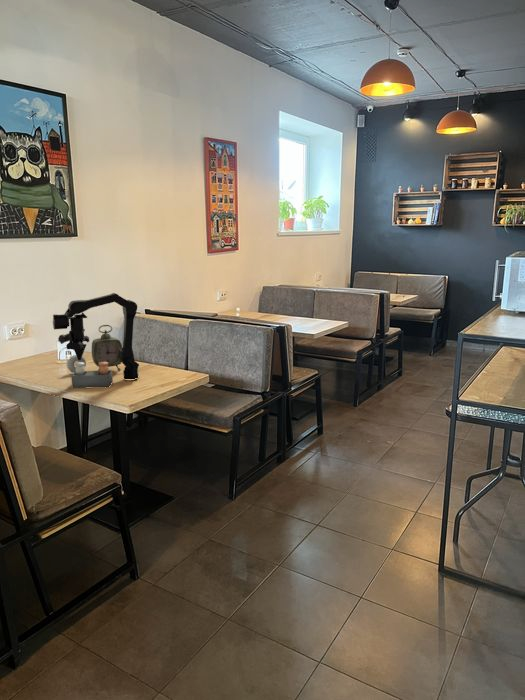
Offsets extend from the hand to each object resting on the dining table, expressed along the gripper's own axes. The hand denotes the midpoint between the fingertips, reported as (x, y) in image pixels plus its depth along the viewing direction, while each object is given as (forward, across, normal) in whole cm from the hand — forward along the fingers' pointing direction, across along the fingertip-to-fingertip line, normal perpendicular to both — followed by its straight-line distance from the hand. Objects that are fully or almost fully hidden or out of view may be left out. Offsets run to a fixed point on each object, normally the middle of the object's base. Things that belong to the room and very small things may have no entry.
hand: (79, 360), depth 243 cm
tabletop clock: (+13, -26, +8) cm, 30 cm away
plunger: (+7, 0, 0) cm, 7 cm away
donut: (+13, -24, -8) cm, 28 cm away
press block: (+12, 0, +5) cm, 14 cm away
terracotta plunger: (+7, 0, +11) cm, 13 cm away
